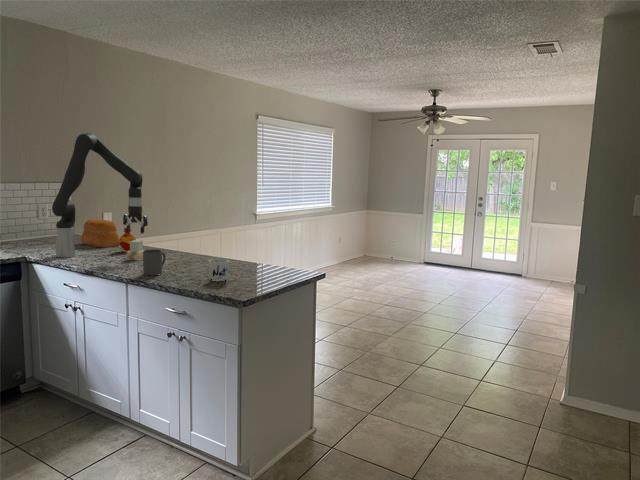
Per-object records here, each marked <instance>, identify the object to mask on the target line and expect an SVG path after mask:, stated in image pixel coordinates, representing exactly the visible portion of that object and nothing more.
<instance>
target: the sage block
mask: <svg viewBox="0 0 640 480" xmlns="http://www.w3.org/2000/svg"><path fill="white" fill-rule="evenodd" d="M143 244H144V243H143V240H137V239H136V240H133V241H130V252H140V251H143V250H144V247H143Z"/></svg>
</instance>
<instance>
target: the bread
mask: <svg viewBox="0 0 640 480" xmlns="http://www.w3.org/2000/svg"><path fill="white" fill-rule="evenodd" d="M117 230H118V228H117V225H116V224H115V222H113V221H112V220H106V219H98V218H96V219H95V218H94V219H93V218H92V219H88V220H86V221H85V222H84V224H83V231H82V234H81V238H80V241H81V243H82V244H83V245H87V246H93V247H97V248H111V247H117V246H120V243H119V240H120V235H119V232H118V231H117Z"/></svg>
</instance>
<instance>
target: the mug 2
mask: <svg viewBox="0 0 640 480" xmlns="http://www.w3.org/2000/svg"><path fill="white" fill-rule="evenodd" d="M207 262H208V263H207V264H208V267H209V268H208V269H209V276H210V280H211V279H226V278H227V279H228V273H229V267H230V262H231V261H230V259H226V258H212V259H208V260H207Z"/></svg>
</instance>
